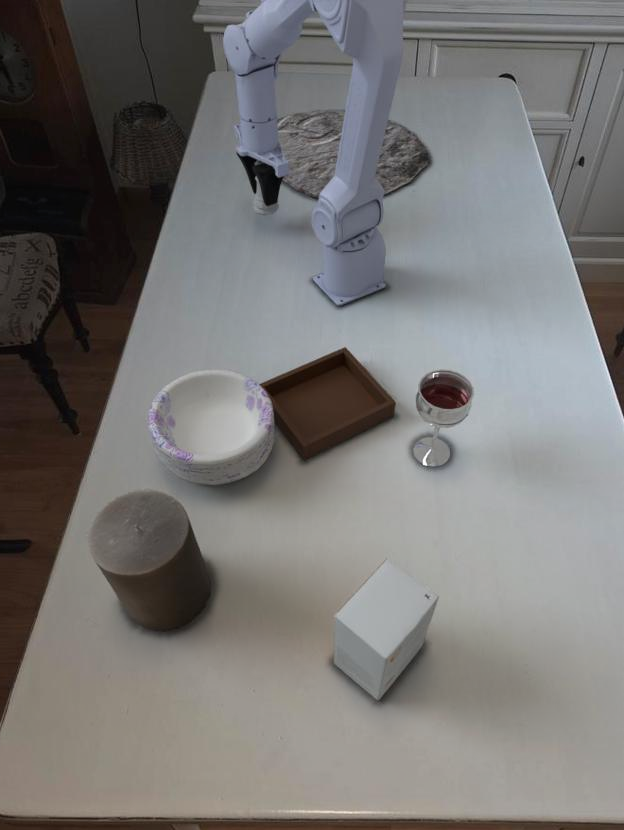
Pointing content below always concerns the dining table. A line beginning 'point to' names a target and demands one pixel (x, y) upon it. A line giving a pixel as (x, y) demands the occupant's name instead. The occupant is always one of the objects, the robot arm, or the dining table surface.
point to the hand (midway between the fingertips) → (265, 197)
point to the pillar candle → (151, 559)
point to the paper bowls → (212, 426)
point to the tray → (327, 402)
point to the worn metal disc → (319, 145)
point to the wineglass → (441, 411)
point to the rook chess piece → (258, 200)
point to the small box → (382, 627)
